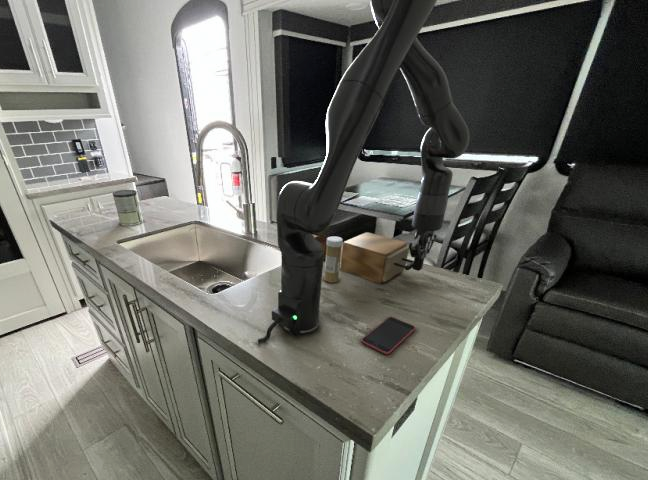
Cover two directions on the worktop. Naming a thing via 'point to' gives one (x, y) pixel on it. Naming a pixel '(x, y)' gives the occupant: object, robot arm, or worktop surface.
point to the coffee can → (128, 207)
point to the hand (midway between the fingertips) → (416, 269)
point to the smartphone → (388, 335)
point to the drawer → (396, 263)
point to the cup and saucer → (323, 243)
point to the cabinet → (368, 255)
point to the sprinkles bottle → (333, 258)
